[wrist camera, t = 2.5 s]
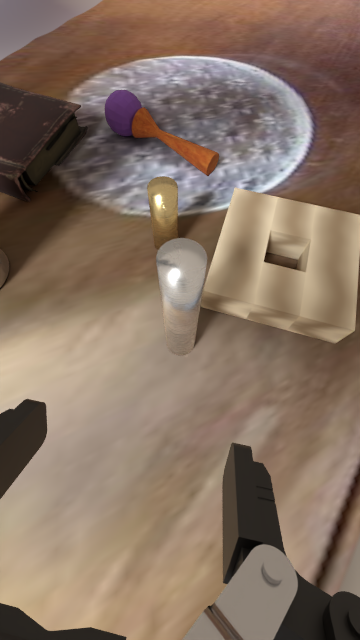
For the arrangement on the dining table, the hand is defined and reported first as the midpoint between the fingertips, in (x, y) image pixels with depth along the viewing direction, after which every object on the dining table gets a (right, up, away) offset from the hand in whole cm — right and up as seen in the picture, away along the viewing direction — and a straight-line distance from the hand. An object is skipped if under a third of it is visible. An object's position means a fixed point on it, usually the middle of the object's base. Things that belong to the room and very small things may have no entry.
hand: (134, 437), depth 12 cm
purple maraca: (-1, +33, +34) cm, 48 cm away
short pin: (0, +15, +26) cm, 30 cm away
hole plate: (+14, +11, +25) cm, 31 cm away
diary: (-28, +34, +35) cm, 56 cm away
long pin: (+2, +2, +21) cm, 21 cm away
